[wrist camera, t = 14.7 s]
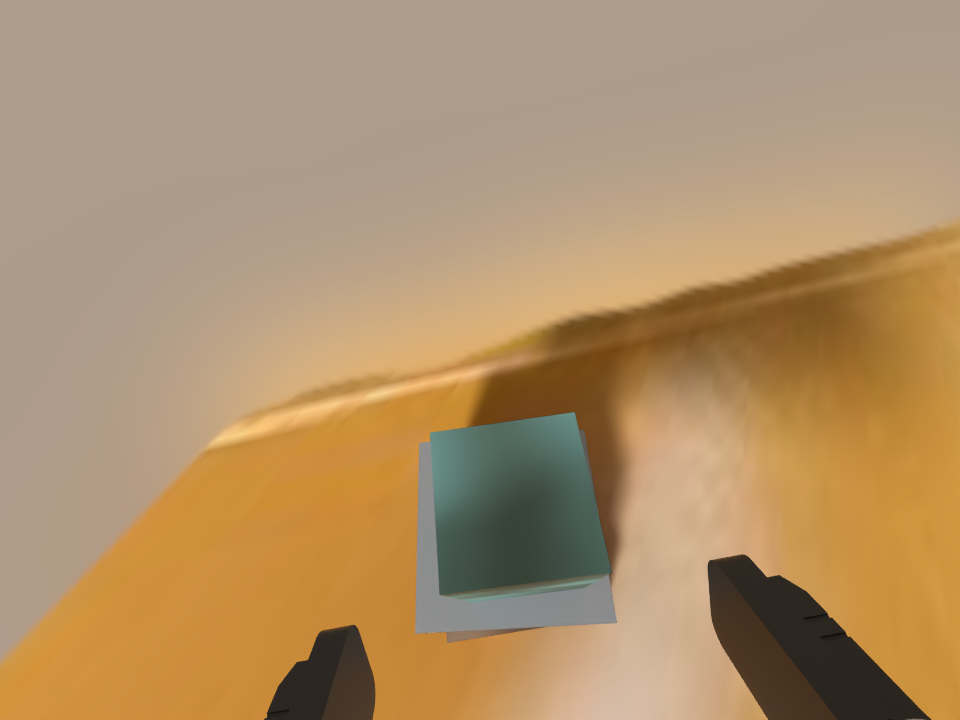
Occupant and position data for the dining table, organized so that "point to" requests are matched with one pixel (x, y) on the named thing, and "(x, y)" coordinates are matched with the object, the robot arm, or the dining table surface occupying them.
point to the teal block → (515, 510)
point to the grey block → (498, 613)
